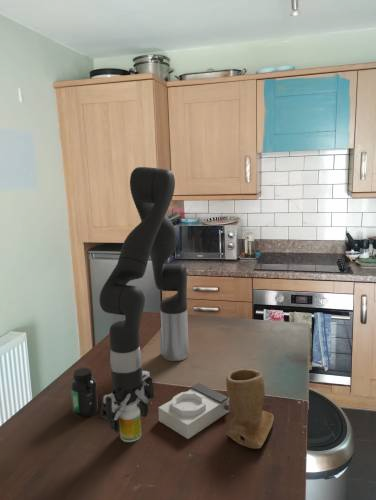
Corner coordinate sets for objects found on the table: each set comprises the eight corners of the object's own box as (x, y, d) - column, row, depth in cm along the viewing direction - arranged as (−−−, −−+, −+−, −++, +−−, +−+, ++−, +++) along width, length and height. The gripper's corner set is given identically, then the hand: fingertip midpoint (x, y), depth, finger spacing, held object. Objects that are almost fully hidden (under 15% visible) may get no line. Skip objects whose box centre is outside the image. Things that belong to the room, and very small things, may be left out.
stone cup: (235, 408, 118) (235, 359, 115) (278, 419, 113) (279, 367, 109) (214, 441, 105) (213, 386, 102) (260, 455, 100) (261, 397, 96)
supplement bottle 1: (76, 421, 114) (72, 380, 112) (70, 408, 120) (66, 369, 118) (101, 413, 117) (98, 374, 115) (94, 401, 123) (91, 363, 121)
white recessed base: (191, 441, 105) (190, 421, 104) (159, 420, 113) (158, 402, 112) (232, 413, 116) (232, 395, 115) (200, 396, 124) (199, 379, 123)
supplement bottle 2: (137, 444, 105) (135, 408, 102) (116, 441, 106) (114, 406, 104) (144, 430, 110) (142, 396, 108) (124, 428, 111) (122, 394, 109)
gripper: (139, 349, 111) (142, 405, 114) (92, 369, 101) (97, 429, 105) (158, 358, 106) (161, 416, 109) (110, 380, 96) (115, 443, 99)
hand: (130, 423), depth 107 cm, fingers open, 8 cm apart
